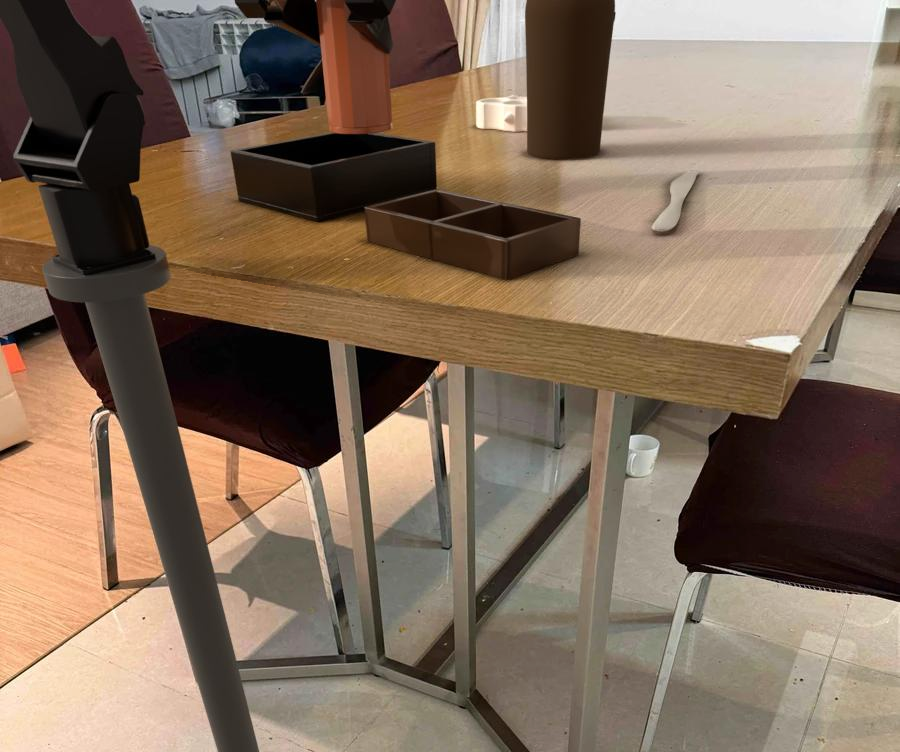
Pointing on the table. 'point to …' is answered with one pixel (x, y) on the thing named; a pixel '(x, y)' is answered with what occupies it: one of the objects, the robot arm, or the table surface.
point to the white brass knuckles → (502, 113)
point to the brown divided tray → (474, 232)
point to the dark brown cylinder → (567, 75)
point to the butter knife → (675, 201)
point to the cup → (352, 74)
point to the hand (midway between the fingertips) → (363, 49)
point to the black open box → (333, 173)
